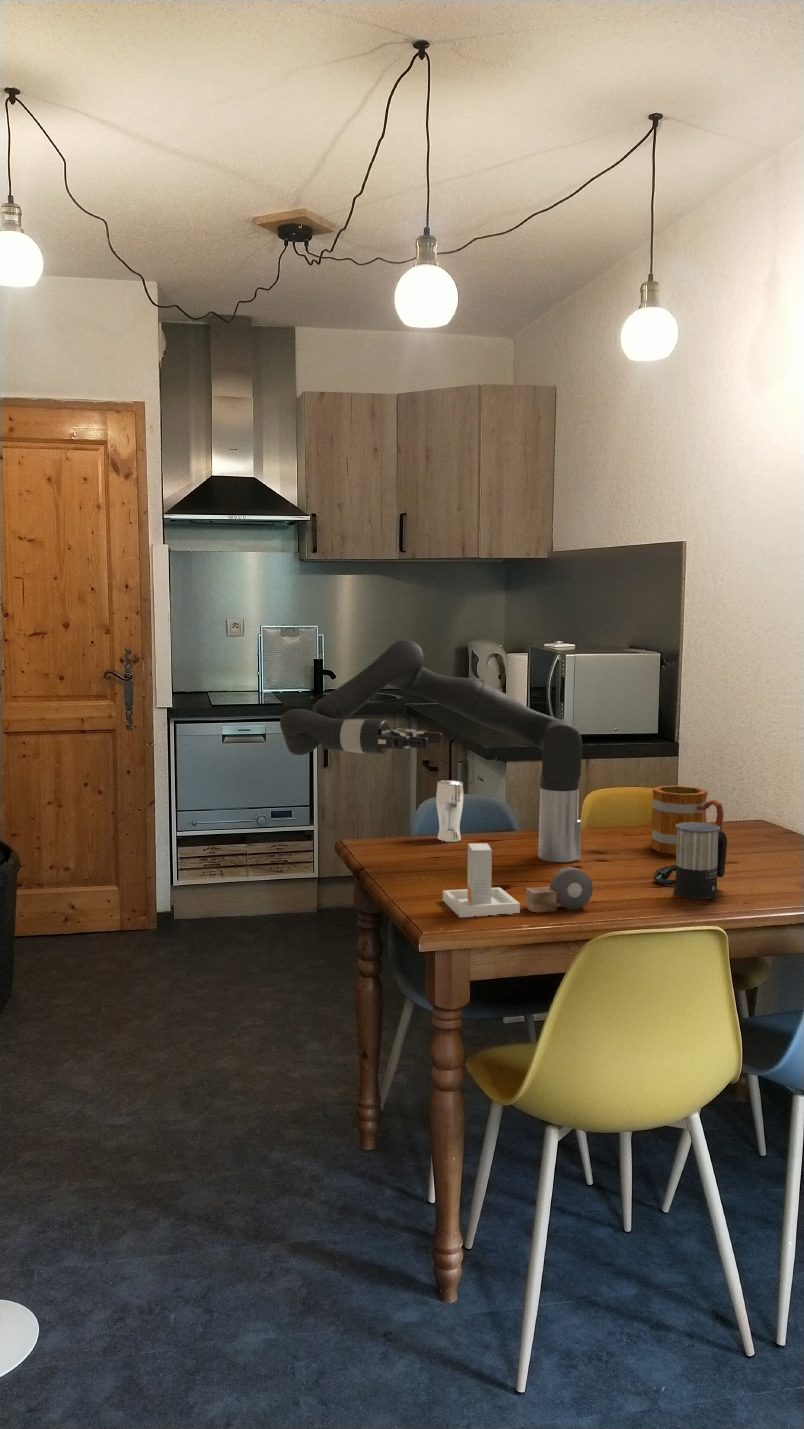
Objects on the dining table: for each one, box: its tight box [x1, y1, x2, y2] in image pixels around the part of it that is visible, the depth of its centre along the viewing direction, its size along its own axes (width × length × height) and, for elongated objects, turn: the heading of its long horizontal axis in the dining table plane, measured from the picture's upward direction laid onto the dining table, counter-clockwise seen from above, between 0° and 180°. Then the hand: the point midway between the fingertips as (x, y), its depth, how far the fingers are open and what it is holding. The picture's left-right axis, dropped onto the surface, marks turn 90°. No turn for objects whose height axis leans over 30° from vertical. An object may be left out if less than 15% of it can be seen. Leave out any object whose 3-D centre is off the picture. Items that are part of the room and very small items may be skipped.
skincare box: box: [466, 842, 493, 905], centre depth 222 cm, size 6×4×12 cm
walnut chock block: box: [525, 886, 557, 913], centre depth 222 cm, size 5×4×4 cm
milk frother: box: [652, 822, 728, 900], centre depth 238 cm, size 14×16×15 cm
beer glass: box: [435, 779, 464, 843], centre depth 284 cm, size 7×7×15 cm
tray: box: [442, 886, 521, 918], centre depth 223 cm, size 12×12×2 cm
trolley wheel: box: [549, 866, 594, 910], centre depth 223 cm, size 8×4×8 cm, turn 104°
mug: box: [650, 785, 724, 855], centre depth 273 cm, size 20×14×15 cm
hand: (434, 740), depth 234 cm, fingers open, 8 cm apart
